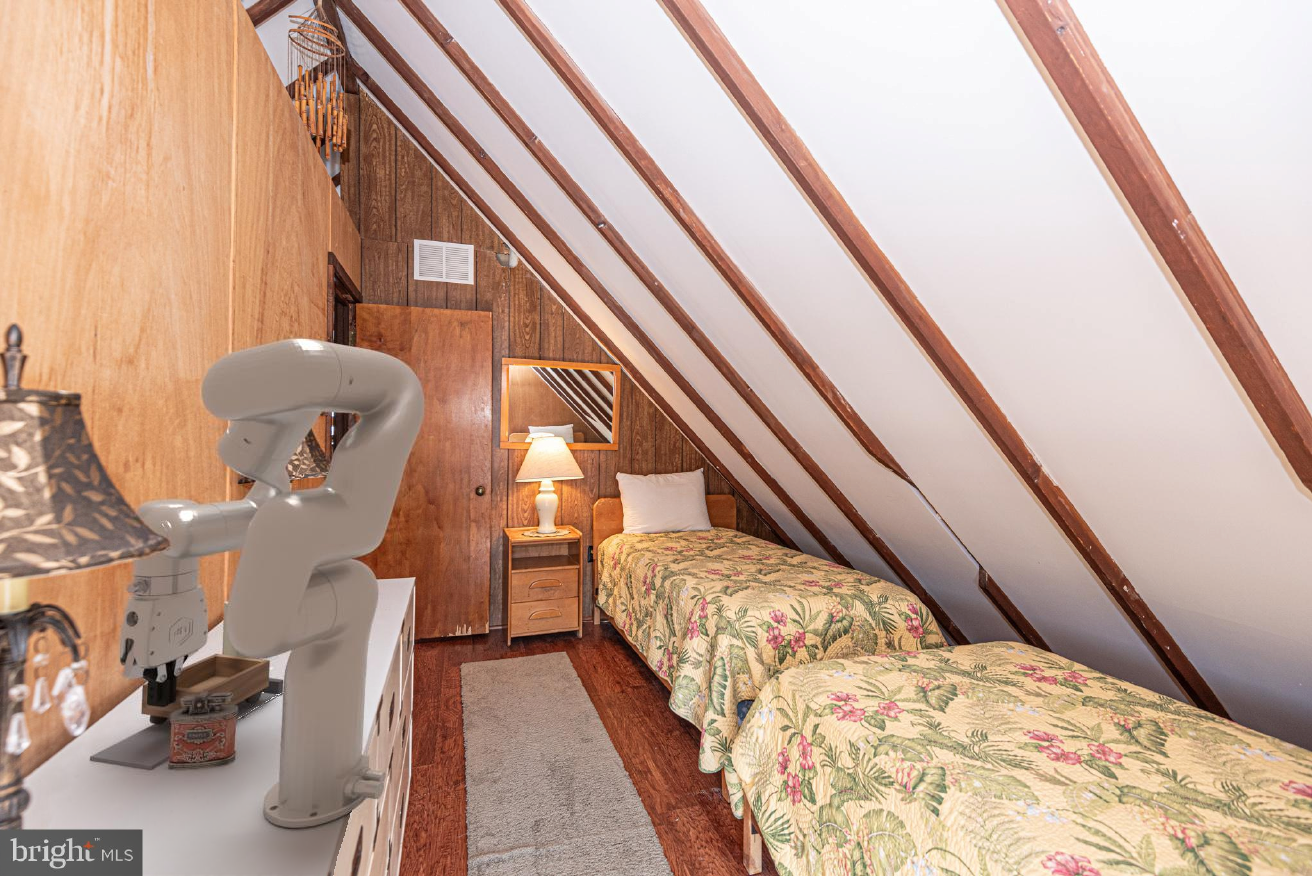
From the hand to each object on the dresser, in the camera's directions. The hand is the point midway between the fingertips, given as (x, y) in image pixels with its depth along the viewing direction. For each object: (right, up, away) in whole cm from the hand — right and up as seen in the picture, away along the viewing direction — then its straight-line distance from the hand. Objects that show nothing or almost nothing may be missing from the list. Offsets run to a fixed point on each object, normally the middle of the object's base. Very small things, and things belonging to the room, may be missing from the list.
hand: (161, 703), depth 86 cm
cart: (+1, -6, +8) cm, 10 cm away
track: (0, -6, +6) cm, 8 cm away
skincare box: (-9, -5, +30) cm, 32 cm away
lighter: (+9, -7, -4) cm, 12 cm away
